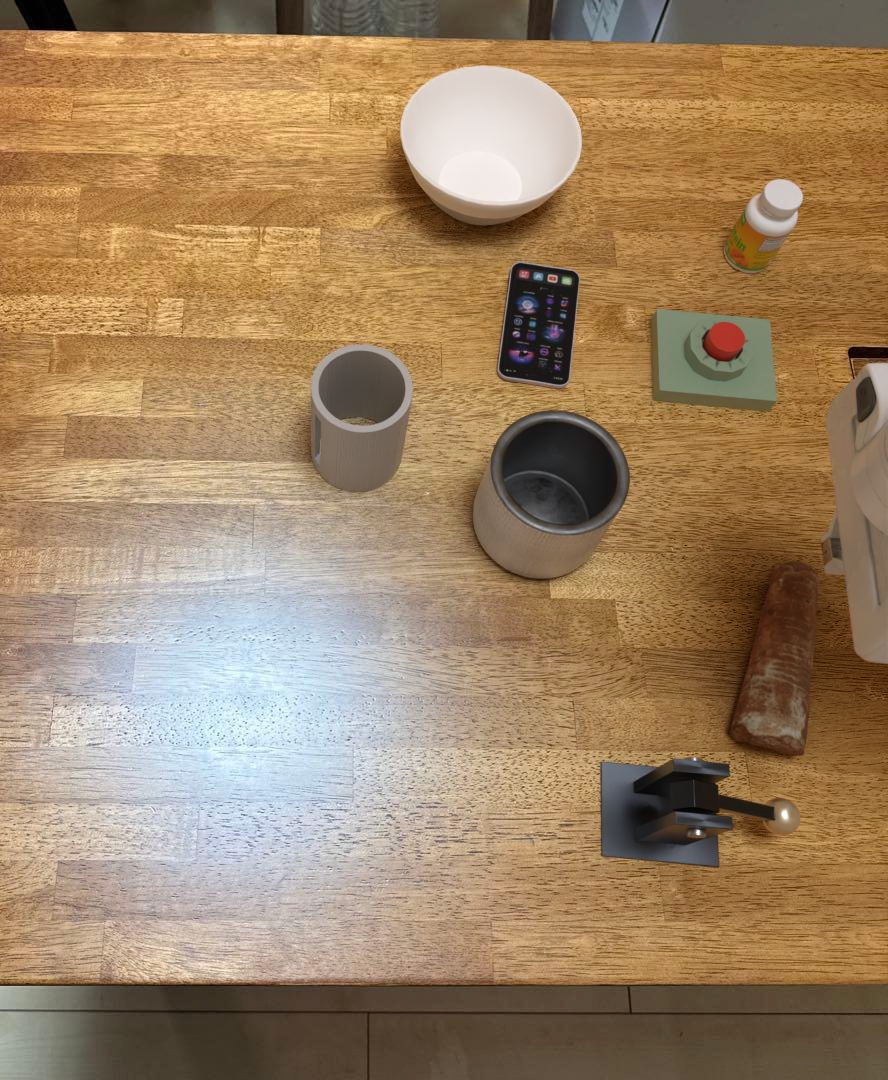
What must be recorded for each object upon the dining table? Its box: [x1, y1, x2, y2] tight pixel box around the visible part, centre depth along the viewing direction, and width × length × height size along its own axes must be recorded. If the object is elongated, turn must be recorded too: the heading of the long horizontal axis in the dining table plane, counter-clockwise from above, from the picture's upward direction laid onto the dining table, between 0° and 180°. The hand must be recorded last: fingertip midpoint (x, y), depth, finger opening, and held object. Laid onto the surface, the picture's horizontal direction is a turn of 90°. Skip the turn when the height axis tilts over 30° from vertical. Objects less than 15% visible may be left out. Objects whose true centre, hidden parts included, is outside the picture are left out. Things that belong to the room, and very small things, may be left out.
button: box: [704, 322, 745, 361], centre depth 103 cm, size 4×4×2 cm
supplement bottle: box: [723, 178, 804, 274], centre depth 109 cm, size 5×5×10 cm
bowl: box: [399, 65, 583, 227], centre depth 112 cm, size 19×19×8 cm
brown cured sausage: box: [729, 560, 819, 757], centre depth 92 cm, size 6×19×6 cm, turn 159°
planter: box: [472, 409, 631, 580], centre depth 94 cm, size 12×12×11 cm
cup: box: [310, 343, 414, 493], centre depth 96 cm, size 9×9×12 cm
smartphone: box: [496, 261, 581, 389], centre depth 108 cm, size 8×1×15 cm
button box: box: [649, 308, 778, 413], centre depth 105 cm, size 12×10×4 cm
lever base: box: [599, 756, 734, 868], centre depth 83 cm, size 10×8×12 cm
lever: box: [670, 779, 802, 836], centre depth 82 cm, size 13×3×3 cm, turn 85°
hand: (831, 557), depth 79 cm, fingers closed
